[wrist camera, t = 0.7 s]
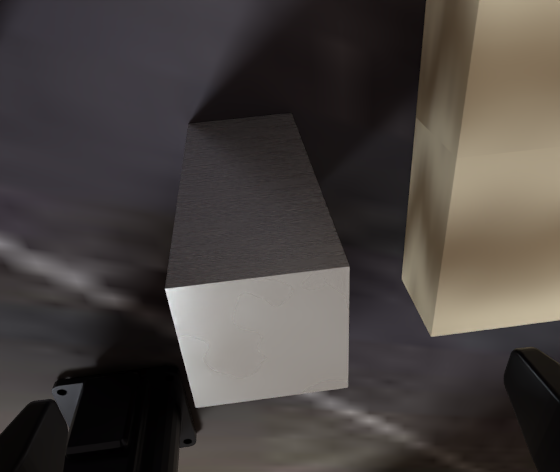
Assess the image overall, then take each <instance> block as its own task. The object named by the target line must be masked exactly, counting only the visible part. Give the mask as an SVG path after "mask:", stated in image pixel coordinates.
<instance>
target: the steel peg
mask: <svg viewBox="0 0 560 472" xmlns="http://www.w3.org/2000/svg"><path fill="white" fill-rule="evenodd" d="M349 274H350V266H349V264H348V261H347V258H346V256H345V253H344V250H343V248H342V245H341V242H340V240H339V237H338V235H337V232H336V229H335V227H334V224H333V221H332V219H331V216H330V213H329V211H328V208H327V206H326V203H325V200H324V198H323V195H322V192H321V190H320V187H319V184H318V182H317V179H316V177H315V174H314V171H313V169H312V166H311V163H310V161H309V158H308V155H307V153H306V150H305V147H304V145H303V142H302V140H301V137H300V134H299V132H298V129H297V126H296V124H295V121H294V118H293V116H292V113H286V114H276V115H267V116H257V117H247V118H238V119H228V120H219V121H209V122H200V123H190V124H188V129H187V137H186V144H185V151H184V158H183V165H182V172H181V179H180V186H179V193H178V200H177V207H176V214H175V221H174V228H173V235H172V242H171V249H170V257H169V264H168V271H167V278H166V285H165V291H166V295H167V299H168V303H169V307H170V310H171V314H172V318H173V322H174V326H175V330H176V334H177V337H178V341H179V345H180V349H181V353H182V357H183V361H184V364H185V368H186V372H187V376H188V380H189V384H190V388H191V391H192V395H193V399H194V403H195V407H196V408H200V407H207V406H214V405H222V404H229V403H237V402H244V401H252V400H259V399H266V398H274V397H281V396H289V395H296V394H304V393H311V392H319V391H326V390H333V389H341V388H348V351H349Z"/></svg>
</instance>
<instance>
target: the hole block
mask: <svg viewBox="0 0 560 472" xmlns="http://www.w3.org/2000/svg"><path fill="white" fill-rule="evenodd" d="M402 281H403V283H404V285H405V287H406V289H407V291H408V293H409V294H410V296H411V298H412V300H413V302H414V304H415V306H416V308H417V310H418V312H419V314H420V316H421V318H422V320H423V322H424V324H425V326H426V328H427V330H428V332H429V334H430V336H431V337H433V336H441V335H449V334H456V333H464V332H472V331H480V330H487V329H495V328H503V327H510V326H518V325H526V324H533V323H541V322H549V321H556V320H560V0H426V9H425V20H424V31H423V43H422V54H421V65H420V76H419V88H418V99H417V110H416V122H415V133H414V144H413V156H412V167H411V178H410V189H409V201H408V212H407V223H406V235H405V246H404V257H403V269H402Z"/></svg>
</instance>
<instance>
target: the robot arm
mask: <svg viewBox="0 0 560 472" xmlns="http://www.w3.org/2000/svg"><path fill="white" fill-rule="evenodd" d="M168 375H171V376H168ZM504 385H505V388H506V391H507V394H508V396H509V399H510V402H511V404H512V407H513V409H514V412H515V415H516V417H517V420H518V423H519V425H520V428H521V431H522V433H523V436H524V439H525V441H526V444H527V447H528V449H529V452H530V454H531V456H532V459H533V461H534V463H535V465H536V468H537V470H538V472H560V364H559V363H557V362H556V361H555V360H553V359H552V358H550V357H549V356H547V355H546V354H544V353H543V352H542V351H540V350H538V349H536V348H534V347H526V348H517V349H514V350H513V351H512V352H511V355H510V358H509V361H508V364H507V367H506V370H505V373H504ZM52 394H53V396H54V398H55V400H56V402H57V403H56V402H55V401H54V400H52V399H47V400H38V401H32V402H30V403H29V404H28V405H27V406H26V407H25V408H24V409H23V410H22V411H21V412H20V413H19V414H18V416H17V417H16V418H15V419H14V420H13V421H12V422H11V423H10V424H9V425H8V427H7V428H6V429H5V430H4V431H3V432H2V433H1V434H0V472H178V460H179V448H182V447H189V446H193V445H194V444H195V443H196V431H195V427H194V423H193V420H192V416H191V412H190V409H189V405H188V401H187V398H186V394H185V390H184V386H183V383H182V379H181V375H180V372H179V370H178V368H176V367H174V366H164V367H156V368H148V369H140V370H133V371H125V372H117V373H110V374H102V375H94V376H86V377H79V378H71V379H63V380H59V381H57V382H55V384H54V386H53V389H52ZM57 404H58V405H57ZM58 406H59V407H58ZM59 408H60V409H59ZM60 410H61V411H60ZM61 412H62V413H61ZM62 414H63V415H62ZM63 416H64V417H63ZM64 418H65V419H64ZM65 420H66V421H65ZM66 422H67V424H68V426H69V432H68V427H67V424H66Z"/></svg>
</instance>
